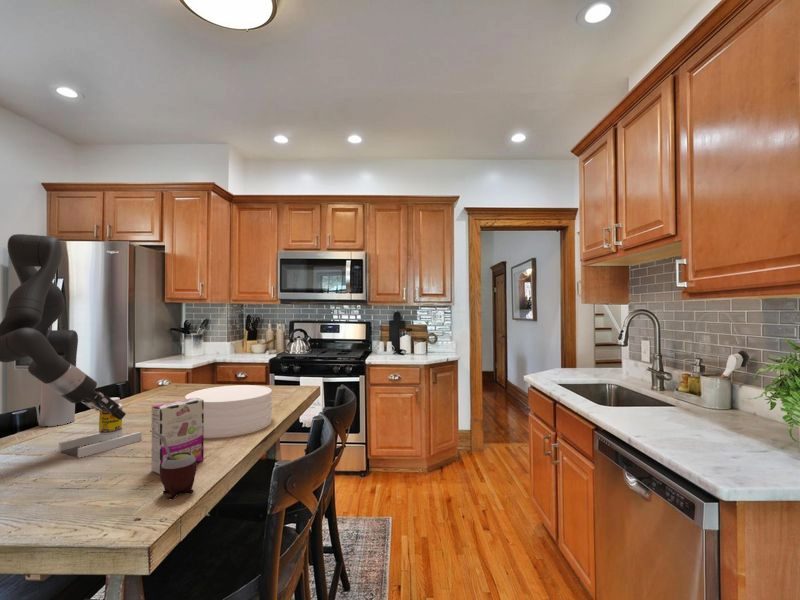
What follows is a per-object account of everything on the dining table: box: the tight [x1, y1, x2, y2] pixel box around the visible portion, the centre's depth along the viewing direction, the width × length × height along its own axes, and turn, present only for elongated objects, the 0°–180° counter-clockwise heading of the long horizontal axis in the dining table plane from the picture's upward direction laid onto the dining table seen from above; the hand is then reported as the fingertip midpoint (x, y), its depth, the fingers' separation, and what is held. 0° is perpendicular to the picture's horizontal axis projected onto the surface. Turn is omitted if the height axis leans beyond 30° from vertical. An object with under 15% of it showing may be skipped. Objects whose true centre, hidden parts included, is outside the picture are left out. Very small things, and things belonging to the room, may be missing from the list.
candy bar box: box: [151, 398, 205, 476], centre depth 99 cm, size 11×5×16 cm, turn 148°
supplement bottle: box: [98, 397, 124, 435], centre depth 116 cm, size 6×6×10 cm
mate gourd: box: [149, 429, 198, 500], centre depth 84 cm, size 8×8×15 cm
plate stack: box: [184, 384, 273, 439], centre depth 135 cm, size 28×28×12 cm
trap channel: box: [58, 429, 142, 459], centre depth 113 cm, size 16×11×2 cm
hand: (116, 415), depth 117 cm, fingers closed on supplement bottle, 5 cm apart
